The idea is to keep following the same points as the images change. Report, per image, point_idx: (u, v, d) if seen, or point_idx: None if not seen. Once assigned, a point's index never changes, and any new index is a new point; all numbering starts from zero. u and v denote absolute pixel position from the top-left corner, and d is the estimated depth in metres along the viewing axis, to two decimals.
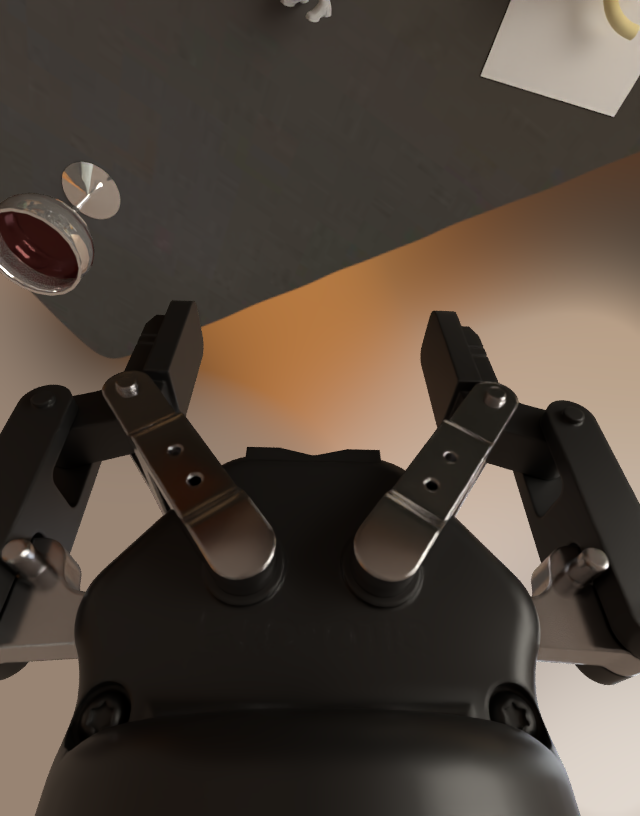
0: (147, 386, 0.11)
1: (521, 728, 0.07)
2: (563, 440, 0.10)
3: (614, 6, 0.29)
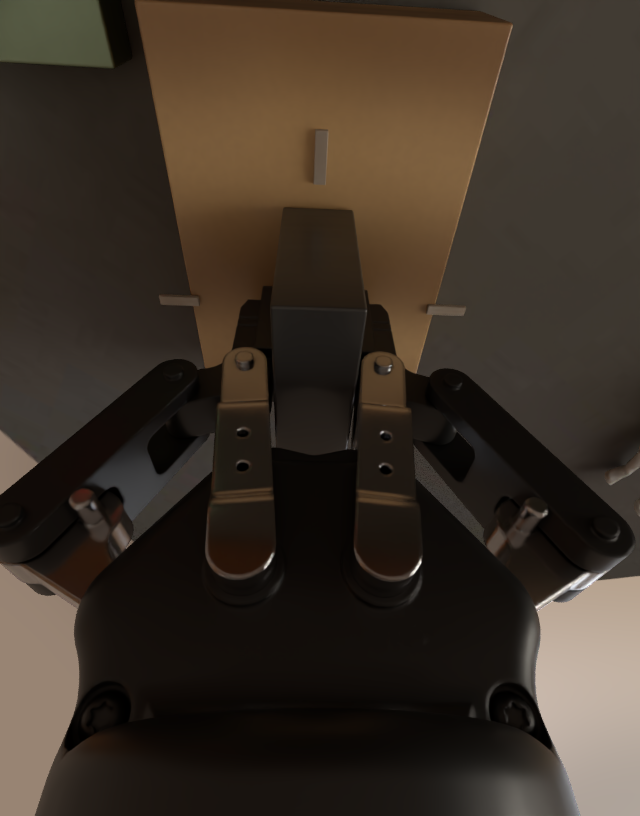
0: (262, 361, 0.12)
1: (521, 728, 0.07)
2: (457, 408, 0.11)
3: None
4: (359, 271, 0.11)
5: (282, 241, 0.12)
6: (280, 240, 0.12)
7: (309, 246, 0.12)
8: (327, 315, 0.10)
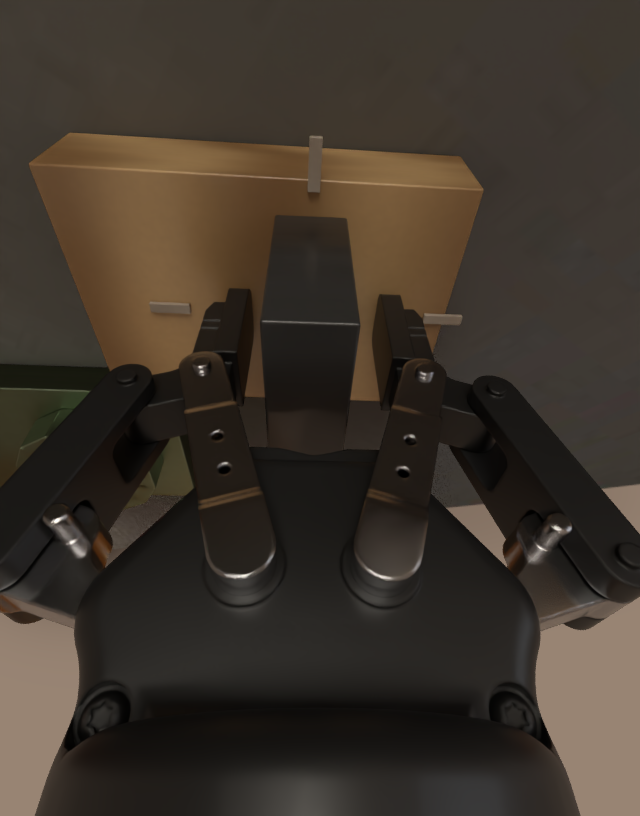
0: (220, 365, 0.12)
1: (521, 728, 0.07)
2: (496, 415, 0.11)
3: None
4: (352, 283, 0.11)
5: (273, 251, 0.11)
6: (271, 250, 0.11)
7: (301, 257, 0.11)
8: (319, 330, 0.09)
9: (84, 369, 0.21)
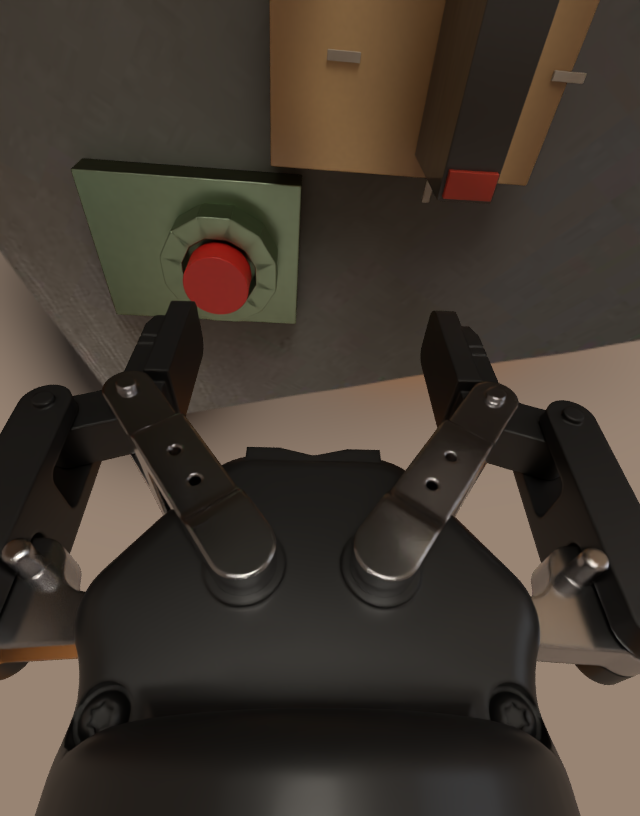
0: (147, 386, 0.11)
1: (521, 728, 0.07)
2: (563, 440, 0.10)
3: None
4: None
5: None
6: None
7: None
8: None
9: (223, 169, 0.24)
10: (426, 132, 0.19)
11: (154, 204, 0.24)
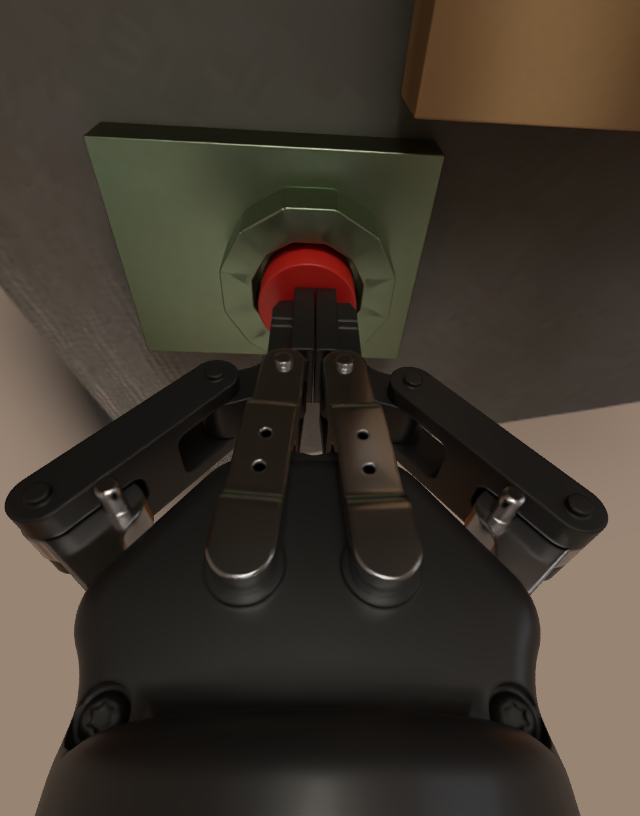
0: (301, 362, 0.12)
1: (521, 728, 0.07)
2: (422, 406, 0.11)
3: None
4: None
5: None
6: None
7: None
8: None
9: (316, 134, 0.15)
10: None
11: (211, 190, 0.15)
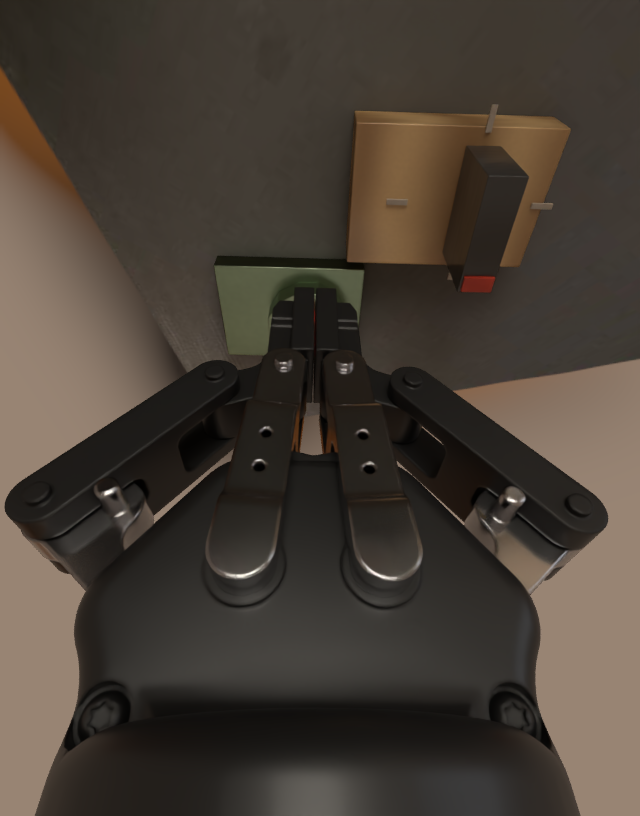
0: (301, 362, 0.12)
1: (521, 728, 0.07)
2: (422, 406, 0.11)
3: None
4: (518, 165, 0.24)
5: (476, 157, 0.25)
6: (475, 156, 0.25)
7: (490, 158, 0.25)
8: (512, 179, 0.23)
9: (310, 259, 0.35)
10: (449, 243, 0.30)
11: (265, 284, 0.35)
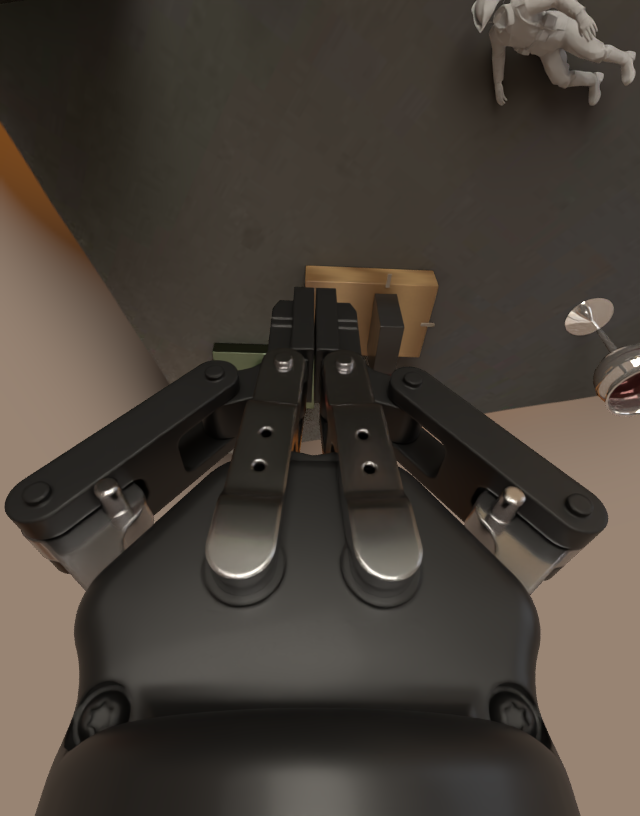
0: (301, 362, 0.12)
1: (521, 728, 0.07)
2: (422, 406, 0.11)
3: None
4: (401, 316, 0.40)
5: (378, 306, 0.41)
6: (377, 306, 0.41)
7: (386, 308, 0.41)
8: (394, 328, 0.39)
9: None
10: (369, 347, 0.46)
11: (248, 363, 0.51)
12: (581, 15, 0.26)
